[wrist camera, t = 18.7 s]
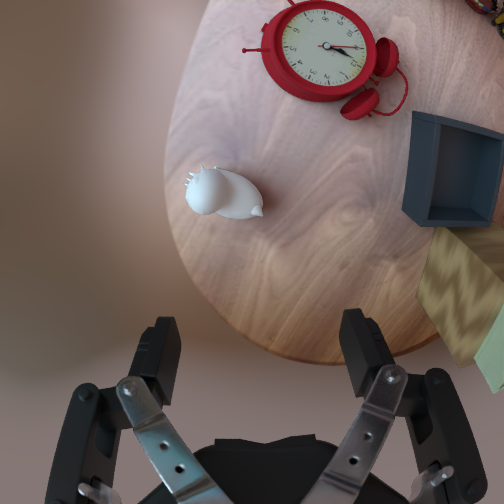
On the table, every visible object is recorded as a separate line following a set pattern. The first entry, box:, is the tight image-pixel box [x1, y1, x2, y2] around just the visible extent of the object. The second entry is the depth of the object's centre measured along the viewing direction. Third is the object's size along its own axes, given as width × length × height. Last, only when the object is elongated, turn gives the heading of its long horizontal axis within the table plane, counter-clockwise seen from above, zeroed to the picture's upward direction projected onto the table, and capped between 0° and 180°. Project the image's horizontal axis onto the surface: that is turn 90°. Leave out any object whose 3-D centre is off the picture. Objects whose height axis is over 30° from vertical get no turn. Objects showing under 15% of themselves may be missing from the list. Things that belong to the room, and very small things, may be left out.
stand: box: [416, 222, 504, 368], centre depth 28 cm, size 12×12×14 cm
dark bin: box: [402, 111, 504, 227], centre depth 26 cm, size 12×12×5 cm
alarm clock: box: [242, 0, 408, 120], centre depth 21 cm, size 10×6×15 cm
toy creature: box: [183, 165, 263, 220], centre depth 27 cm, size 5×8×6 cm, turn 63°
